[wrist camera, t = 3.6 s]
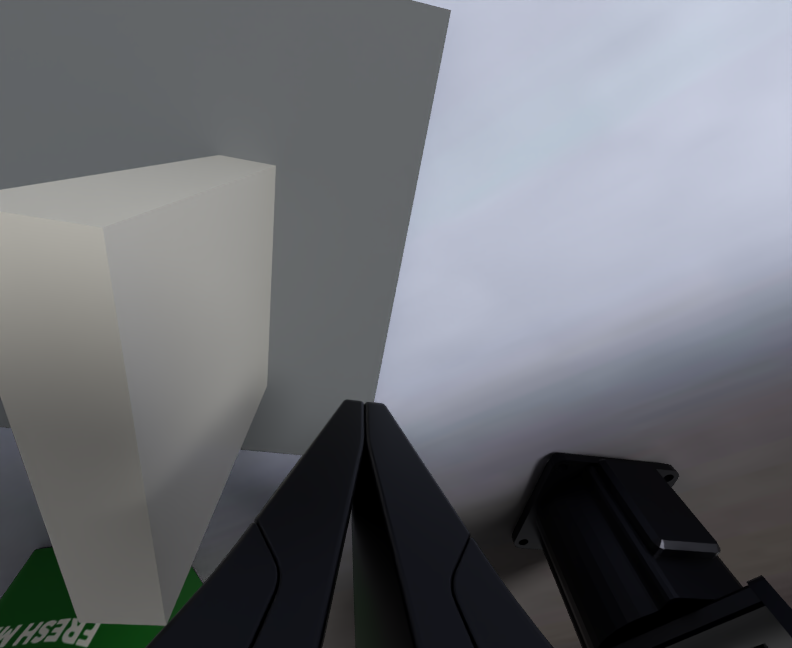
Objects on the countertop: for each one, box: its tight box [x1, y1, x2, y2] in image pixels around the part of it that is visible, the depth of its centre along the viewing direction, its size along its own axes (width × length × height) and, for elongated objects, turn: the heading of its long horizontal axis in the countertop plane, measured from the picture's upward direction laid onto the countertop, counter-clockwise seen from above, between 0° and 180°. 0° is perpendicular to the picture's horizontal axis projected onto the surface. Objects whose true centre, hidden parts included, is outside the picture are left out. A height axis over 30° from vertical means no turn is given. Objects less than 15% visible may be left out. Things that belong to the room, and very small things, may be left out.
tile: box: [0, 155, 276, 626], centre depth 9 cm, size 8×2×8 cm, turn 170°
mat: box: [0, 0, 451, 455], centre depth 12 cm, size 16×20×1 cm
